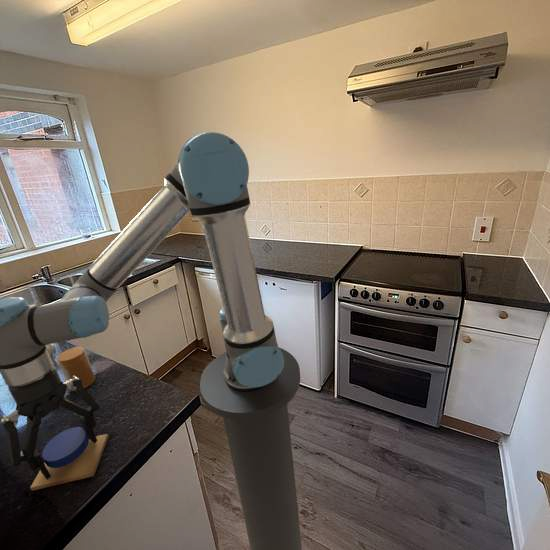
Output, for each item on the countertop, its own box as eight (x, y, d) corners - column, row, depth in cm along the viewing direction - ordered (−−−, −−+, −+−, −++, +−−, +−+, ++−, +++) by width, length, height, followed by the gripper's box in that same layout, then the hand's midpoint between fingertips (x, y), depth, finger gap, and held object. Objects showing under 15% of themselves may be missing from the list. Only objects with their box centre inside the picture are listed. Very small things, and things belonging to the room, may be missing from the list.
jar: (99, 372, 96) (88, 344, 92) (90, 388, 89) (78, 358, 85) (75, 377, 95) (63, 349, 91) (64, 393, 88) (51, 363, 84)
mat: (109, 436, 72) (107, 433, 72) (93, 476, 63) (92, 473, 63) (55, 448, 70) (53, 445, 70) (31, 491, 61) (29, 487, 61)
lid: (79, 463, 62) (76, 456, 61) (37, 472, 61) (32, 465, 60) (95, 430, 70) (92, 423, 69) (57, 437, 69) (54, 431, 68)
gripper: (80, 340, 68) (109, 415, 76) (-50, 405, 52) (5, 491, 60) (97, 349, 64) (125, 427, 72) (-39, 422, 48) (18, 512, 56)
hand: (71, 456), depth 66 cm, fingers open, 9 cm apart
